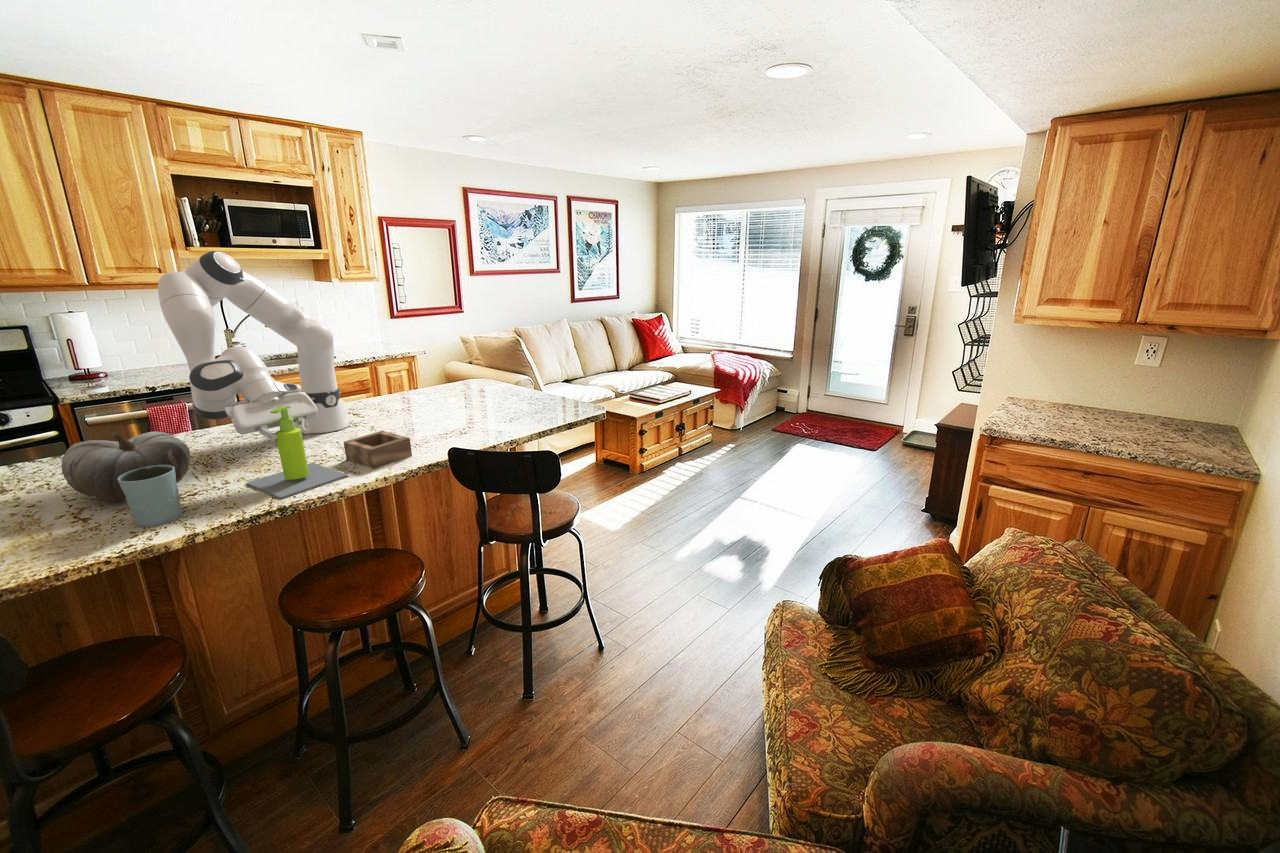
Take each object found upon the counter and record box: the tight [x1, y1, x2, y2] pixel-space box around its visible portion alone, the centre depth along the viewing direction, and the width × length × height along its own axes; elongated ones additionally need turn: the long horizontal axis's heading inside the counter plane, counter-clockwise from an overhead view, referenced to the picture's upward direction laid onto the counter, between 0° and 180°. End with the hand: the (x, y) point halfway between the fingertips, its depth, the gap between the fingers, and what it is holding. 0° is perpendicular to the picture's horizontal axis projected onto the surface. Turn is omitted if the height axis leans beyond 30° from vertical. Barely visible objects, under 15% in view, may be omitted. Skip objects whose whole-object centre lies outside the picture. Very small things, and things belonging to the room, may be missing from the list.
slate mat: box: [246, 462, 348, 500], centre depth 154 cm, size 18×18×1 cm
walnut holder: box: [343, 430, 413, 470], centre depth 170 cm, size 14×13×6 cm
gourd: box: [61, 431, 191, 502], centre depth 145 cm, size 25×25×17 cm
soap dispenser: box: [270, 406, 309, 480], centre depth 149 cm, size 6×7×20 cm
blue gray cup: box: [118, 465, 183, 528], centre depth 130 cm, size 10×10×12 cm
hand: (289, 436), depth 149 cm, fingers closed on soap dispenser, 6 cm apart
